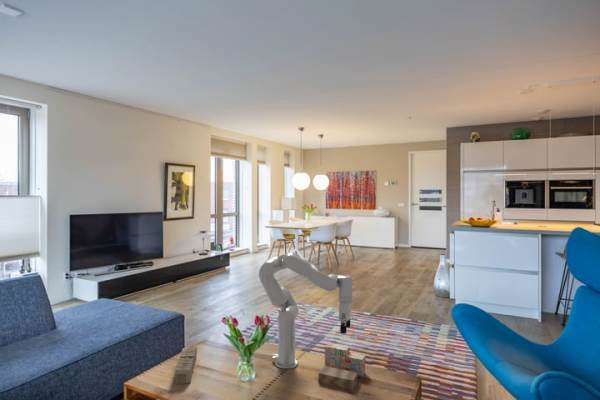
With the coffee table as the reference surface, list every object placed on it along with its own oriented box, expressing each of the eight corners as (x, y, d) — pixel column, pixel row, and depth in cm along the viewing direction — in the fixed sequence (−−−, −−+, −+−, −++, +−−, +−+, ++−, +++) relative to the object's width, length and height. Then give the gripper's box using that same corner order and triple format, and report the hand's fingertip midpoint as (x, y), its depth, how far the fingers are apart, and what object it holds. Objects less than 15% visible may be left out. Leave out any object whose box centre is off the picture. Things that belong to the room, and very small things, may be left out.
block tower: (182, 362, 207) (173, 386, 178) (183, 347, 207) (174, 368, 178) (197, 361, 208) (190, 384, 179) (197, 346, 208) (190, 367, 180)
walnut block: (318, 383, 184) (318, 373, 184) (324, 375, 192) (324, 365, 192) (352, 390, 177) (353, 380, 177) (357, 382, 185) (357, 372, 185)
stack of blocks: (365, 372, 195) (365, 349, 195) (361, 377, 190) (362, 354, 190) (328, 363, 205) (329, 342, 205) (324, 368, 200) (324, 345, 200)
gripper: (342, 294, 207) (342, 324, 207) (334, 302, 191) (334, 334, 191) (355, 295, 204) (355, 325, 204) (348, 303, 188) (348, 336, 188)
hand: (345, 330), depth 197 cm, fingers open, 9 cm apart
